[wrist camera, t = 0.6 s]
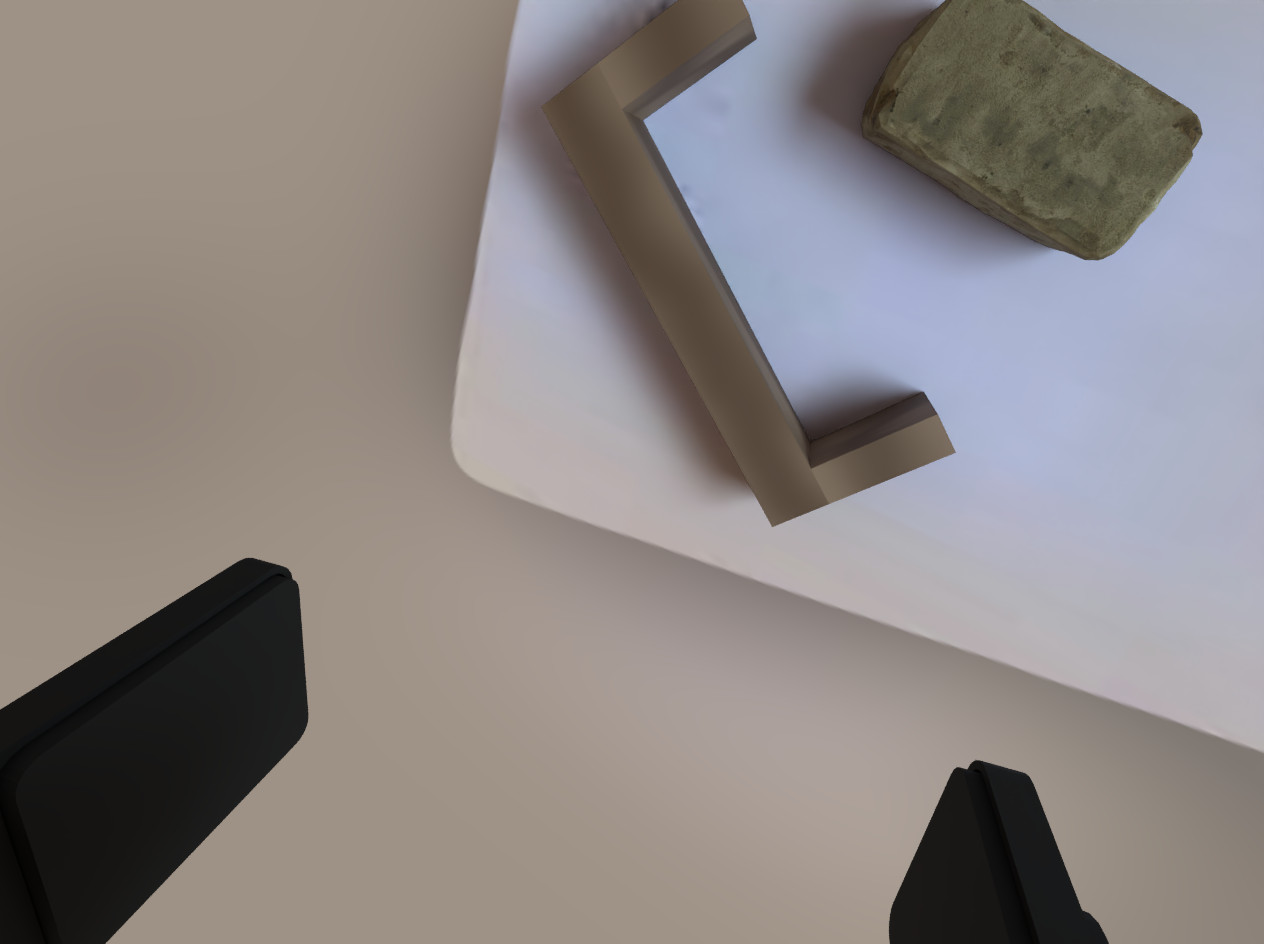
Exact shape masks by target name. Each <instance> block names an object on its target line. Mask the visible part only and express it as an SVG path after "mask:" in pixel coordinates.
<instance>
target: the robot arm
mask: <svg viewBox="0 0 1264 944" xmlns="http://www.w3.org/2000/svg"><path fill="white" fill-rule="evenodd" d="M307 723H308V705H307V690H306V677H305V663H304V650H303V637H302V623H301V609H300V597H299V587H298V584H297V582H296V581H294V580H293V579H292V575H291V572H290V571H289V570H288V569H287V568H285V567H283V566H280V565H276V564H272V563H269V562H265V561H262V560H258V559H254V558H245V559H243V560H240V561H238V562H237V563H235V564H233V565H232V566H230V567H229V568H227V569H225V570H224V571H222V572H221V573H219V574H217V575H216V576H214V577H213V578H211V579H210V580H208V581H206V582H205V583H203V584H201V585H200V586H198V587H196V588H195V589H193V590H192V591H190V592H189V593H187V594H185V595H184V596H182V597H180V598H179V599H177V600H176V601H174V602H172V603H171V604H169V605H168V606H166V607H164V608H163V609H161V610H160V611H158V612H157V613H155V614H153V615H152V616H150V617H148V618H147V619H145V620H144V621H142V622H140V623H139V624H137V625H136V626H134V627H132V628H131V629H129V630H127V631H126V632H124V633H123V634H121V635H119V636H118V637H116V638H115V639H113V640H111V641H110V642H108V643H107V644H105V645H103V646H102V647H100V648H99V649H97V650H95V651H94V652H92V653H91V654H89V655H87V656H86V657H84V658H83V659H81V660H79V661H78V662H76V663H74V664H73V665H71V666H70V667H68V668H66V669H65V670H63V671H62V672H60V673H58V674H57V675H55V676H54V677H52V678H50V679H49V680H47V681H46V682H44V683H42V684H41V685H39V686H38V687H36V688H34V689H33V690H31V691H30V692H28V693H26V694H25V695H23V696H22V697H20V698H18V699H17V700H15V701H14V702H12V703H10V704H9V705H7V706H6V707H4V708H2V709H1V710H0V944H105V943H106V942H107V941H108V940H109V939H110V938H111V937H112V936H113V935H114V934H115V933H116V932H117V931H118V930H119V929H120V928H121V927H122V926H123V925H124V923H125V922H126V921H127V920H128V919H129V918H130V917H131V916H132V915H133V914H134V913H135V912H136V911H137V910H138V909H139V908H140V907H141V906H142V905H143V904H144V903H145V901H146V900H147V899H148V898H149V897H150V896H151V895H152V894H153V893H154V892H155V891H156V890H157V889H158V888H159V887H160V886H161V885H162V884H163V883H164V882H165V880H166V879H167V878H168V877H169V876H170V875H171V874H172V873H173V872H174V871H175V870H176V869H177V868H178V867H179V866H180V865H181V864H182V863H183V862H184V861H185V860H186V858H188V856H189V855H190V854H191V853H192V852H193V851H194V850H195V849H196V848H197V847H198V846H199V845H200V844H201V843H202V842H203V841H204V840H205V839H206V838H207V837H208V836H209V834H210V833H211V832H212V831H213V830H214V829H215V828H216V827H217V826H218V825H219V824H220V823H221V822H222V821H223V820H224V819H225V818H226V816H228V815H229V814H230V812H231V811H232V810H233V809H234V808H235V807H236V806H237V805H238V804H239V803H240V802H241V801H242V800H243V799H244V798H245V797H246V796H247V795H248V794H249V792H250V791H251V790H252V789H253V788H254V787H255V786H256V785H257V784H258V783H259V782H260V781H261V780H262V779H263V778H264V777H265V776H266V775H267V774H268V773H269V772H270V771H271V770H272V768H273V767H274V766H275V765H276V764H277V763H278V762H279V761H280V760H281V759H282V758H283V757H284V756H285V755H286V754H287V753H288V752H289V750H290V749H291V748H293V746H294V745H295V744H296V743H297V742H298V741H299V739H300V738H301V737H302V735H303V733H304V731H305V729H306V726H307ZM889 940H890V944H1109V943H1108V940H1107V938H1106V936H1105V934H1104V932H1103V931H1102V929H1101V927H1100V925H1099V923H1098V922H1097V921H1096V920H1095V919H1094V918H1093V917H1092V916H1091V914H1089V913H1087V912H1085V911H1082V909H1081V907H1080V904H1079V901H1078V899H1077V896H1076V893H1075V891H1074V888H1073V886H1072V883H1071V880H1070V878H1069V875H1068V872H1067V870H1066V867H1065V865H1064V862H1063V859H1062V857H1061V854H1060V852H1059V849H1058V847H1057V844H1056V841H1055V839H1054V836H1053V833H1052V831H1051V828H1050V826H1049V823H1048V821H1047V818H1046V815H1045V813H1044V811H1043V808H1042V805H1041V802H1040V800H1039V797H1038V795H1037V792H1036V789H1035V787H1034V784H1033V782H1032V781H1031V779H1030V777H1029V776H1028V775H1027V774H1025V773H1023V772H1019V771H1016V770H1012V769H1008V768H1004V767H1001V766H998V765H994V764H990V763H987V762H983V761H979V760H976V761H974V762H972V763H971V764H970V766H969V768H968V769H963V768H959V767H957V768H955V769H954V770H953V772H952V774H951V776H950V778H949V780H948V782H947V785H946V787H945V789H944V791H943V794H942V796H941V798H940V800H939V803H938V805H937V807H936V809H935V811H934V814H933V816H932V818H931V820H930V822H929V825H928V827H927V829H926V831H925V833H924V836H923V838H922V840H921V842H920V845H919V847H918V849H917V851H916V854H915V856H914V858H913V860H912V862H911V865H910V867H909V869H908V871H907V873H906V876H905V878H904V880H903V882H902V885H901V887H900V889H899V891H898V893H897V896H896V898H895V901H894V902H893V905H892V908H891V913H890V921H889Z"/></svg>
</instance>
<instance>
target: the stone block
mask: <svg viewBox="0 0 1264 944" xmlns="http://www.w3.org/2000/svg"><path fill="white" fill-rule="evenodd" d="M861 128H862V134H863V137H864V138H866V139H868V140H870V141H872V142H873V143H875V144H876V145H878V146H880V147H881V148H883V149H885V150H886V151H888V152H890V153H891V154H893V155H895V156H896V157H898V158H900V159H901V160H903V161H904V162H906V163H908V164H909V165H911V166H913V167H914V168H916V169H918V170H920V171H921V172H923V173H925V174H926V175H928V176H930V177H932V178H933V179H935V180H937V181H939V182H940V183H941V184H943V185H944V186H945V187H947V188H948V189H950V190H951V191H952V192H954V193H955V194H956V195H958V196H959V197H961V198H962V199H964V200H965V201H967V202H968V203H970V204H971V205H973V206H974V207H976V208H977V209H979V210H980V211H982V212H983V213H985V214H987V215H990V216H992V217H994V218H996V219H998V220H1000V221H1002V222H1003V223H1005V224H1007V225H1009V226H1011V227H1012V228H1014V229H1016V230H1017V231H1019V232H1021V233H1022V234H1024V235H1026V236H1027V237H1029V238H1031V239H1033V240H1034V241H1036V242H1038V243H1041V244H1043V245H1045V246H1047V247H1050V248H1053V249H1056V250H1059V251H1064V252H1067V253H1070V254H1072V255H1075V256H1077V257H1079V258H1082V259H1084V260H1100V259H1104V258H1106V257H1108V256H1110V255H1112V254H1114V253H1115V252H1116V251H1117V250H1119V249H1120V248H1121V247H1122V246H1123V245H1124V244H1125V243H1126V242H1127V241H1128V240H1129V239H1130V237H1131V236H1132V235H1133V234H1134V232H1135V231H1136V229H1137V228H1138V226H1139V225H1140V224H1141V223H1142V222H1143V221H1144V220H1146V219H1147V218H1148V217H1149V216H1150V215H1151V214H1152V213H1153V212H1154V210H1155V209H1156V208H1157V206H1158V204H1159V202H1160V200H1161V199H1162V198H1163V196H1164V195H1165V193H1166V192H1167V191H1168V190H1169V189H1170V188H1171V187H1172V185H1173V184H1174V183H1175V182H1176V181H1177V180H1178V178H1179V177H1180V175H1181V174H1182V173H1183V171H1184V170H1185V168H1186V167H1187V165H1188V164H1189V163H1190V161H1191V158H1192V156H1193V153H1192V150H1193V149H1194V148H1195V146H1196V145H1197V143H1198V141H1199V140H1200V138H1201V136H1202V129H1201V124H1200V121H1199V119H1198V117H1197V115H1196V114H1195V113H1193V112H1192V110H1191V109H1189V108H1188V107H1186V106H1184V105H1183V104H1181V103H1180V102H1178V101H1176V100H1175V99H1173V98H1172V97H1170V96H1168V95H1167V94H1165V93H1164V92H1162V91H1160V90H1159V89H1157V88H1156V87H1154V86H1152V85H1151V84H1149V83H1148V82H1146V81H1145V80H1143V79H1142V78H1140V77H1139V76H1137V75H1136V74H1134V73H1132V72H1131V71H1129V70H1127V69H1126V68H1124V67H1122V66H1121V65H1119V64H1118V63H1116V62H1114V61H1113V60H1111V59H1110V58H1108V57H1106V56H1104V55H1103V54H1101V53H1099V52H1098V51H1096V50H1094V49H1093V48H1091V47H1090V46H1088V45H1086V44H1085V43H1083V42H1082V41H1080V40H1079V39H1077V38H1075V37H1074V36H1072V35H1070V34H1068V33H1067V32H1065V31H1064V30H1062V29H1061V28H1060V27H1058V26H1057V25H1056V24H1055V23H1053V22H1052V21H1051V20H1050V19H1048V18H1047V17H1046V16H1044V15H1043V14H1042V13H1041V12H1039V11H1038V10H1037V9H1035V8H1033V7H1032V6H1030V5H1029V4H1027V3H1026V2H1024V1H1022V0H945V1H944V2H943V3H942V4H941V5H940V6H939V7H938V8H937V9H935V10H934V11H933V12H932V13H931V14H929V15H928V16H927V17H926V18H924V19H923V20H922V21H921V22H919V23H918V25H917V26H916V28H915V29H914V31H913V32H912V34H911V35H910V36H909V37H908V38H907V39H906V40H905V41H904V42H903V43H902V44H901V45H900V46H899V47H898V48H897V50H896V52H895V53H894V55H893V57H892V58H891V60H890V62H889V64H888V66H887V68H886V70H885V71H884V73H883V75H882V77H881V78H880V80H879V82H878V83H877V85H876V87H875V89H874V91H873V94H872V95H871V96H870V98H869V100H868V101H867V103H866V106H865V109H864V113H863V118H862V123H861Z"/></svg>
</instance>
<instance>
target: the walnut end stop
mask: <svg viewBox="0 0 1264 944" xmlns="http://www.w3.org/2000/svg"><path fill="white" fill-rule="evenodd" d="M756 39H757V38H756V35H755V32H754V28H753V25H752V22H751V19H750V15H749V13H748V11H747V9H746V7H745V5H744V3H743V0H678V1H677V2H675V3H674V4H673V5H672V6H670V7H669V8H668V9H667V10H665V11H664V12H663V13H661V14H660V15H659V16H658V17H656V18H655V19H654V20H652V21H651V22H650V23H649V24H647V25H646V26H645V27H643V28H642V29H641V30H640V31H638V32H637V33H636V34H634V35H633V36H632V37H631V38H629V39H628V40H627V41H625V42H624V43H623V44H622V45H620V46H619V47H618V48H616V49H615V50H614V51H613V52H611V53H610V54H609V55H607V56H606V57H605V58H604V59H602V60H601V61H600V62H598V63H597V64H596V65H595V66H593V67H592V68H591V69H589V70H588V71H587V72H586V73H584V74H583V75H582V76H580V77H579V78H578V79H577V80H575V81H574V82H573V83H571V84H570V85H569V86H568V87H566V88H565V89H564V90H562V91H561V92H560V93H559V94H557V95H556V96H555V97H553V98H552V99H551V100H550V101H548V102H547V103H546V104H544V105H543V106H542V107H541V108H542V109H543V111H544V113H545V115H546V117H547V118H548V120H549V122H550V124H551V126H552V127H553V129H554V131H555V133H556V135H557V137H558V138H559V140H560V142H561V144H562V146H563V147H564V149H565V151H566V153H567V155H568V157H569V158H570V160H571V162H572V164H573V166H574V167H575V169H576V171H577V173H578V175H579V177H580V178H581V180H582V182H583V184H584V186H585V187H586V189H587V191H588V193H589V195H590V197H591V198H592V200H593V202H594V204H595V206H596V207H597V209H598V211H599V213H600V215H601V217H602V218H603V220H604V222H605V224H606V226H607V227H608V229H609V231H610V233H611V235H612V236H613V238H614V240H615V242H616V244H617V246H618V247H619V249H620V251H621V253H622V255H623V256H624V258H625V260H626V262H627V264H628V266H629V267H630V269H631V271H632V273H633V275H634V276H635V278H636V280H637V282H638V284H639V286H640V287H641V289H642V291H643V293H644V295H645V296H646V298H647V300H648V302H649V304H650V306H651V307H652V309H653V311H654V313H655V315H656V316H657V318H658V320H659V322H660V324H661V326H662V327H663V329H664V331H665V333H666V335H667V336H668V338H669V340H670V342H671V344H672V345H673V347H674V349H675V351H676V353H677V355H678V356H679V358H680V360H681V362H682V364H683V365H684V367H685V369H686V371H687V373H688V375H689V376H690V378H691V380H692V382H693V384H694V385H695V387H696V389H697V391H698V393H699V395H700V396H701V398H702V400H703V402H704V404H705V405H706V407H707V409H708V411H709V413H710V415H711V416H712V418H713V420H714V422H715V424H716V425H717V427H718V429H719V431H720V433H721V435H722V436H723V438H724V440H725V442H726V444H727V445H728V447H729V449H730V451H731V453H732V454H733V456H734V458H735V460H736V462H737V464H738V465H739V467H740V469H741V471H742V473H743V474H744V476H745V478H746V480H747V482H748V484H749V485H750V487H751V489H752V491H753V493H754V494H755V496H756V498H757V500H758V502H759V504H760V505H761V507H762V509H763V511H764V513H765V514H766V516H767V518H768V520H769V522H770V524H771V525H772V527H774V526H776V525H778V524H781V523H783V522H786V521H788V520H791V519H793V518H796V517H798V516H801V515H803V514H806V513H808V512H811V511H813V510H815V509H818V508H820V507H823V506H825V505H828V504H830V503H833V502H835V501H838V500H840V499H843V498H845V497H847V496H850V495H852V494H855V493H857V492H860V491H862V490H865V489H867V488H870V487H872V486H875V485H877V484H880V483H882V482H884V481H887V480H889V479H892V478H894V477H897V476H899V475H902V474H904V473H907V472H909V471H912V470H914V469H916V468H919V467H921V466H924V465H926V464H929V463H931V462H934V461H936V460H939V459H941V458H944V457H946V456H948V455H951V454H953V453H956V452H955V450H954V448H953V446H952V444H951V441H950V439H949V437H948V435H947V433H946V431H945V429H944V427H943V424H942V422H941V420H940V418H939V416H938V414H937V412H936V411H935V409H934V408H933V406H932V404H931V403H930V401H929V400H928V398H927V396H926V395H925V393H924V392H922V393H920V394H918V395H915V396H913V397H911V398H909V399H907V400H904V401H902V402H900V403H898V404H895V405H893V406H891V407H889V408H886V409H884V410H882V411H880V412H877V413H875V414H873V415H871V416H869V417H866V418H864V419H862V420H860V421H857V422H855V423H853V424H851V425H848V426H846V427H844V428H842V429H839V430H837V431H835V432H833V433H831V434H828V435H826V436H824V437H822V438H819V439H817V440H815V441H813V442H810V440H809V438H808V436H807V435H806V433H805V431H804V429H803V427H802V425H801V423H800V421H799V419H798V417H797V415H796V413H795V411H794V410H793V408H792V406H791V404H790V402H789V400H788V398H787V396H786V394H785V392H784V390H783V388H782V387H781V385H780V383H779V381H778V379H777V377H776V375H775V373H774V371H773V369H772V367H771V365H770V363H769V362H768V360H767V358H766V356H765V354H764V352H763V350H762V348H761V346H760V344H759V342H758V340H757V339H756V337H755V335H754V333H753V331H752V329H751V327H750V325H749V323H748V321H747V319H746V317H745V315H744V314H743V312H742V310H741V308H740V306H739V304H738V302H737V300H736V298H735V296H734V294H733V292H732V291H731V289H730V287H729V285H728V283H727V281H726V279H725V277H724V275H723V273H722V271H721V269H720V267H719V266H718V264H717V262H716V260H715V258H714V256H713V254H712V252H711V250H710V248H709V246H708V244H707V242H706V241H705V239H704V237H703V235H702V233H701V231H700V229H699V227H698V225H697V223H696V221H695V219H694V218H693V216H692V214H691V212H690V210H689V208H688V206H687V204H686V202H685V200H684V198H683V196H682V194H681V193H680V191H679V189H678V187H677V185H676V183H675V181H674V179H673V177H672V175H671V173H670V171H669V170H668V168H667V166H666V164H665V162H664V160H663V158H662V156H661V154H660V152H659V150H658V148H657V146H656V145H655V143H654V141H653V139H652V137H651V135H650V133H649V131H648V129H647V127H646V125H645V123H644V122H643V120H644V119H645V118H647V117H648V116H650V115H651V114H652V113H654V112H655V111H657V110H658V109H659V108H661V107H662V106H664V105H665V104H666V103H668V102H669V101H671V100H672V99H673V98H675V97H676V96H678V95H679V94H680V93H682V92H683V91H685V90H686V89H687V88H689V87H690V86H691V85H693V84H694V83H696V82H697V81H698V80H700V79H701V78H703V77H704V76H705V75H707V74H708V73H710V72H711V71H712V70H714V69H715V68H717V67H718V66H719V65H721V64H722V63H724V62H725V61H726V60H728V59H729V58H731V57H732V56H733V55H735V54H736V53H738V52H739V51H740V50H742V49H743V48H745V47H746V46H747V45H749V44H750V43H752V42H753V41H754V40H756Z"/></svg>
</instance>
